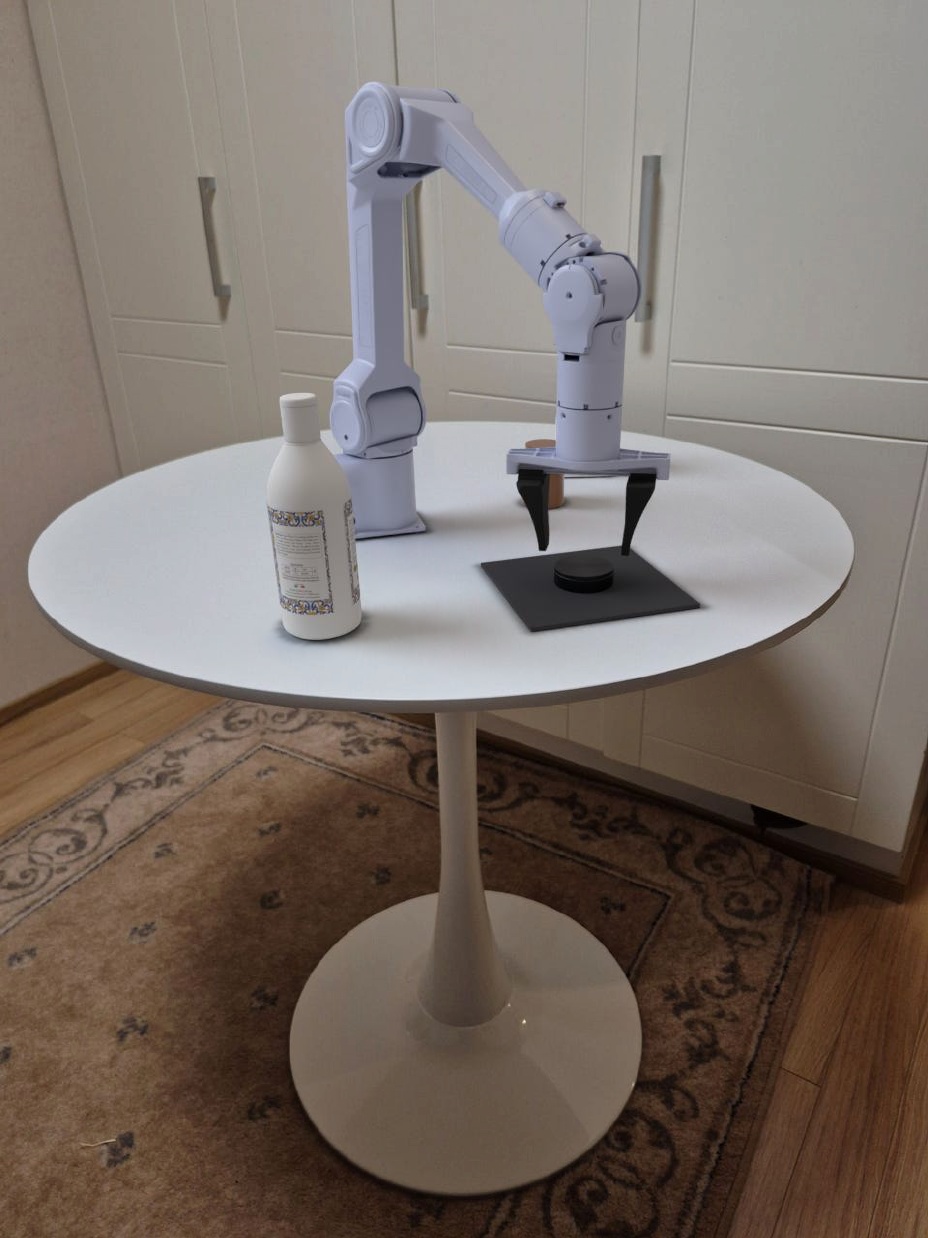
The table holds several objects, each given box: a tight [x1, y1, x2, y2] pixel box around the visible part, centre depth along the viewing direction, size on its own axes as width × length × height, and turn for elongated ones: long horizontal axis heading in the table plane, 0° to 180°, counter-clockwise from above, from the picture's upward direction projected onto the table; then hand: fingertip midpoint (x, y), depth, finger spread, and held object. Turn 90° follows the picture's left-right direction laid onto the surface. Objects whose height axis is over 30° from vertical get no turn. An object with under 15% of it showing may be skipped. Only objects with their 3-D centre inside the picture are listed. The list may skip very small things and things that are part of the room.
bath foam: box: [266, 392, 363, 641], centre depth 72 cm, size 7×7×20 cm
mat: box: [480, 545, 701, 632], centre depth 82 cm, size 16×16×1 cm
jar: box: [521, 438, 565, 510], centre depth 105 cm, size 5×5×7 cm
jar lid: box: [554, 555, 614, 593], centre depth 82 cm, size 6×6×2 cm
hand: (584, 549), depth 81 cm, fingers open, 7 cm apart
